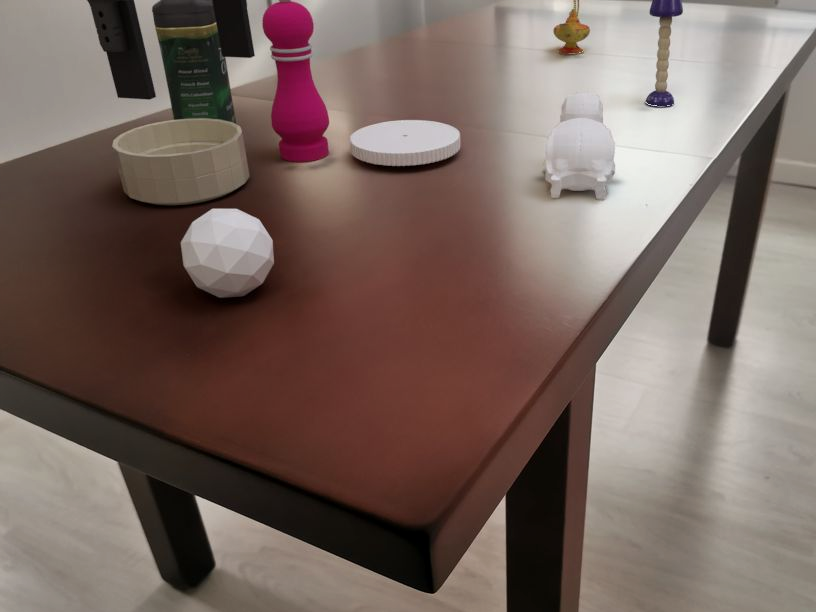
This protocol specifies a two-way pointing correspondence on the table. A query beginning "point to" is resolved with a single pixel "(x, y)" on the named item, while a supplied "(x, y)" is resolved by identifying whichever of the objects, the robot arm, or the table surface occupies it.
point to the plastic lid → (405, 142)
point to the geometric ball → (227, 252)
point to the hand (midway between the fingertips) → (192, 75)
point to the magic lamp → (571, 32)
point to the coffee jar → (193, 60)
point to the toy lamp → (663, 49)
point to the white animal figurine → (580, 148)
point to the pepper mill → (295, 84)
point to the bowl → (181, 161)
